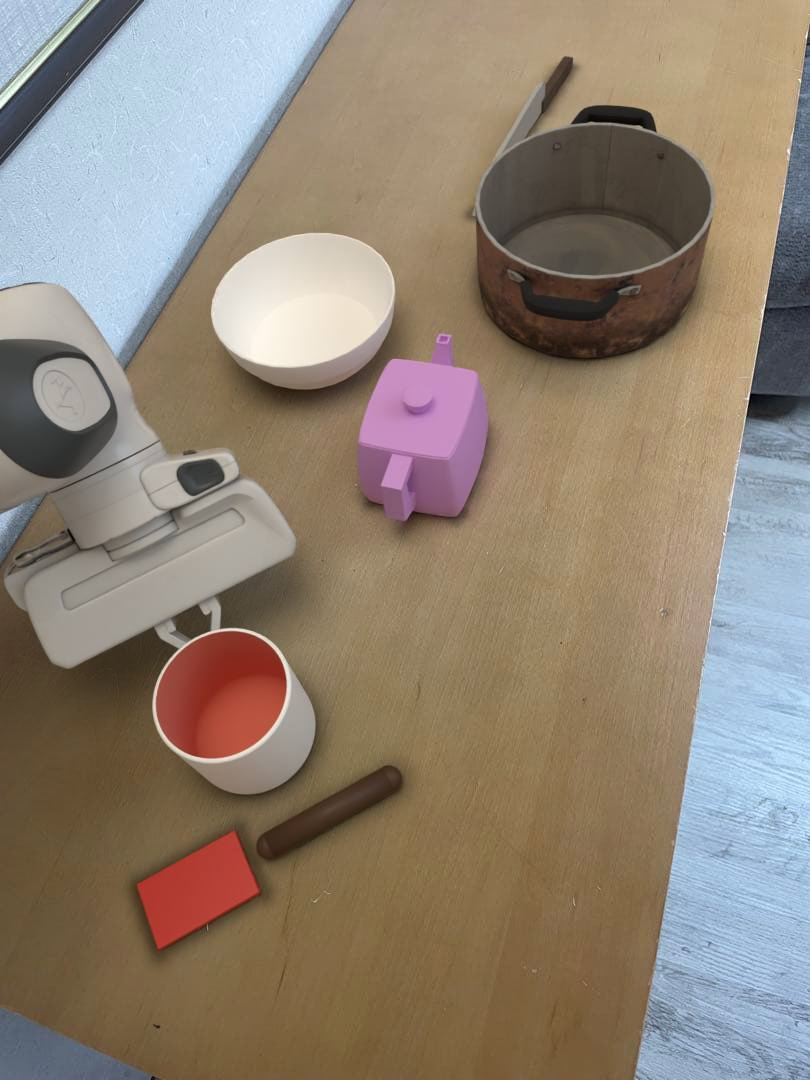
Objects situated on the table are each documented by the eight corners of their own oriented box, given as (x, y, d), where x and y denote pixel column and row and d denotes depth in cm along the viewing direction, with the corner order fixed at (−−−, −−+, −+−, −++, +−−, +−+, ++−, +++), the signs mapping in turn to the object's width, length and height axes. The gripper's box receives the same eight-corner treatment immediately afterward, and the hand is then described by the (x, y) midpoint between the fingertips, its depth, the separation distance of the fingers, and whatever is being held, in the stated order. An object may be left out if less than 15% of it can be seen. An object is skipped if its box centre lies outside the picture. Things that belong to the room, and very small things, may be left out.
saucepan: (512, 179, 99) (512, 92, 90) (710, 198, 94) (731, 107, 85) (445, 372, 85) (438, 292, 76) (673, 407, 80) (694, 325, 71)
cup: (178, 715, 70) (131, 671, 61) (286, 655, 71) (255, 603, 63) (225, 823, 65) (182, 791, 56) (340, 755, 66) (315, 714, 58)
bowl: (199, 388, 88) (175, 339, 81) (283, 270, 95) (268, 216, 89) (355, 438, 82) (342, 389, 76) (431, 308, 90) (425, 254, 84)
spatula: (160, 950, 61) (150, 948, 59) (139, 885, 63) (128, 881, 61) (417, 804, 64) (414, 798, 62) (387, 747, 66) (383, 740, 65)
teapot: (402, 380, 85) (390, 305, 76) (505, 396, 83) (504, 320, 74) (346, 529, 77) (324, 464, 68) (457, 552, 75) (450, 488, 66)
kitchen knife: (566, 38, 106) (468, 182, 93) (574, 40, 106) (477, 184, 93) (563, 72, 110) (469, 215, 97) (572, 73, 109) (478, 217, 96)
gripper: (-19, 574, 58) (83, 737, 62) (250, 444, 61) (332, 607, 65) (0, 557, 64) (92, 706, 68) (244, 439, 67) (319, 589, 71)
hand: (211, 657), depth 67 cm, fingers closed, pressing on cup
